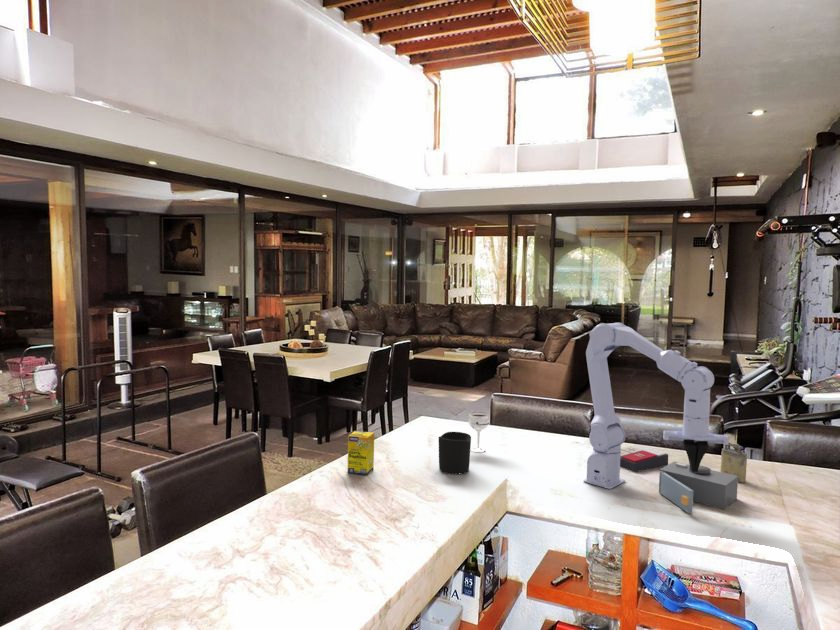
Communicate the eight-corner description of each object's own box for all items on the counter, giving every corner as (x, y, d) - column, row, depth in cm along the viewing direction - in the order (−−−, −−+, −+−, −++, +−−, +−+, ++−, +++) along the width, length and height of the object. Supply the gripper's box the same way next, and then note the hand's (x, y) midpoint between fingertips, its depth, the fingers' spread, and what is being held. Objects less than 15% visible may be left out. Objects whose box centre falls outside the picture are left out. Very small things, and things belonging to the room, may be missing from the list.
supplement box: (347, 473, 160) (347, 435, 159) (354, 467, 165) (355, 430, 165) (367, 475, 158) (367, 437, 158) (373, 469, 164) (374, 431, 163)
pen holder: (475, 473, 162) (476, 438, 162) (445, 476, 159) (446, 441, 158) (461, 463, 171) (462, 430, 170) (432, 466, 167) (433, 433, 167)
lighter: (748, 482, 159) (750, 447, 159) (740, 484, 157) (742, 448, 157) (724, 474, 166) (726, 440, 165) (716, 476, 164) (718, 442, 163)
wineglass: (464, 448, 186) (465, 412, 186) (483, 447, 188) (484, 411, 188) (472, 454, 180) (473, 417, 179) (492, 453, 182) (493, 416, 181)
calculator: (606, 451, 175) (639, 442, 183) (606, 464, 176) (639, 455, 183) (634, 461, 166) (669, 451, 173) (634, 475, 166) (668, 465, 173)
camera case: (724, 509, 139) (726, 481, 139) (658, 491, 150) (660, 465, 150) (736, 498, 146) (738, 472, 146) (673, 482, 157) (674, 457, 157)
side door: (685, 513, 135) (686, 490, 135) (655, 491, 149) (656, 471, 149) (692, 513, 136) (693, 490, 135) (662, 491, 149) (663, 471, 149)
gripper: (667, 417, 137) (665, 472, 138) (733, 422, 134) (730, 478, 135) (662, 411, 144) (660, 464, 145) (724, 415, 141) (722, 469, 142)
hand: (693, 470), depth 140 cm, fingers closed
